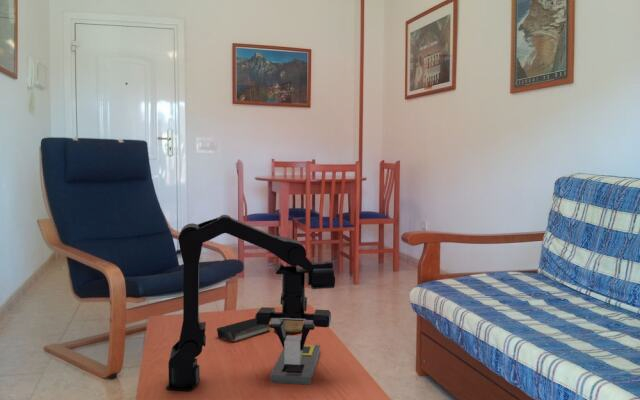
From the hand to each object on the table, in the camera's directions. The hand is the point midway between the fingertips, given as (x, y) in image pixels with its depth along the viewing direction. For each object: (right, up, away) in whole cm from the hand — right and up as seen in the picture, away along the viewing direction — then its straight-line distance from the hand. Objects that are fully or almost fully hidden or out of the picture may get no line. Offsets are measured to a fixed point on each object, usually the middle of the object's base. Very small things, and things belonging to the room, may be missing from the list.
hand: (293, 349), depth 133 cm
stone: (-3, -4, +34) cm, 35 cm away
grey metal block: (0, -3, 0) cm, 3 cm away
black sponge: (-17, -5, +31) cm, 35 cm away
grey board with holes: (+1, -6, +7) cm, 9 cm away
